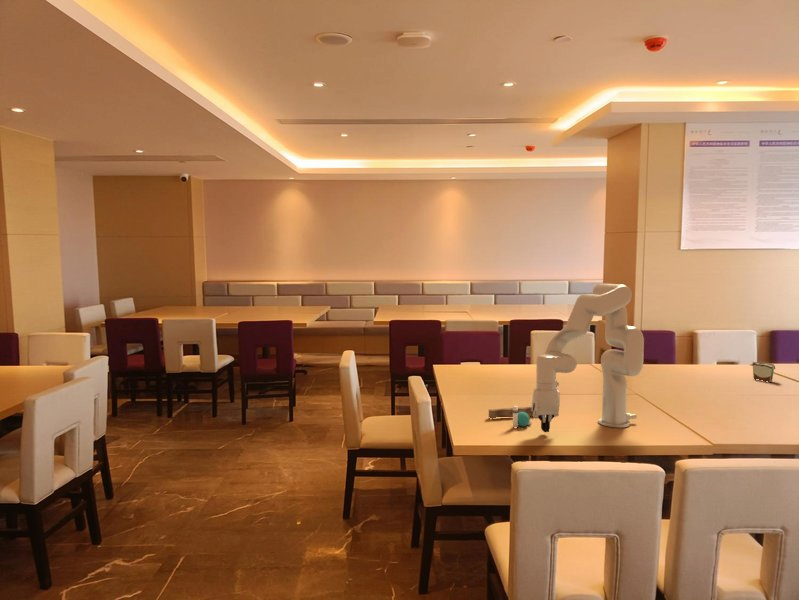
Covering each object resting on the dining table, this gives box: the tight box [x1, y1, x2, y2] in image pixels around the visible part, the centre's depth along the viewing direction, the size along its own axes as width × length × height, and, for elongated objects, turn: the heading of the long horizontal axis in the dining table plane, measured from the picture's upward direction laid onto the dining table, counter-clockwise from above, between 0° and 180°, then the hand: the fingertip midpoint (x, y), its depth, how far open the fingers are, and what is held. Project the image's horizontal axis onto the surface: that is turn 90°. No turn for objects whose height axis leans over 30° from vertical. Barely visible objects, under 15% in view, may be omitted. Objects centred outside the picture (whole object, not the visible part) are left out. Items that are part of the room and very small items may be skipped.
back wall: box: [488, 406, 533, 418], centre depth 242 cm, size 24×2×4 cm, turn 102°
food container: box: [751, 361, 776, 383], centre depth 308 cm, size 12×6×10 cm, turn 22°
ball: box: [518, 412, 530, 427], centre depth 229 cm, size 6×6×6 cm
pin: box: [512, 405, 519, 428], centre depth 226 cm, size 2×2×9 cm
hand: (545, 431), depth 218 cm, fingers closed
